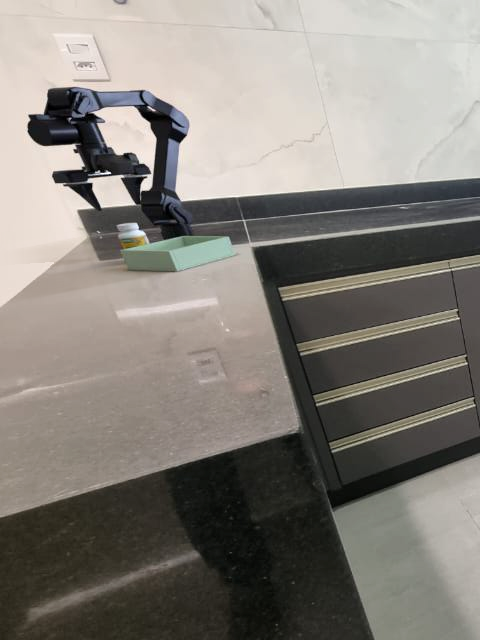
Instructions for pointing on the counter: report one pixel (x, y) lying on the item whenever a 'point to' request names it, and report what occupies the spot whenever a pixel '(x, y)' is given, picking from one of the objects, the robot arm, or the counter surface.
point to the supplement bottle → (131, 235)
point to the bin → (177, 253)
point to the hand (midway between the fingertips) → (119, 207)
